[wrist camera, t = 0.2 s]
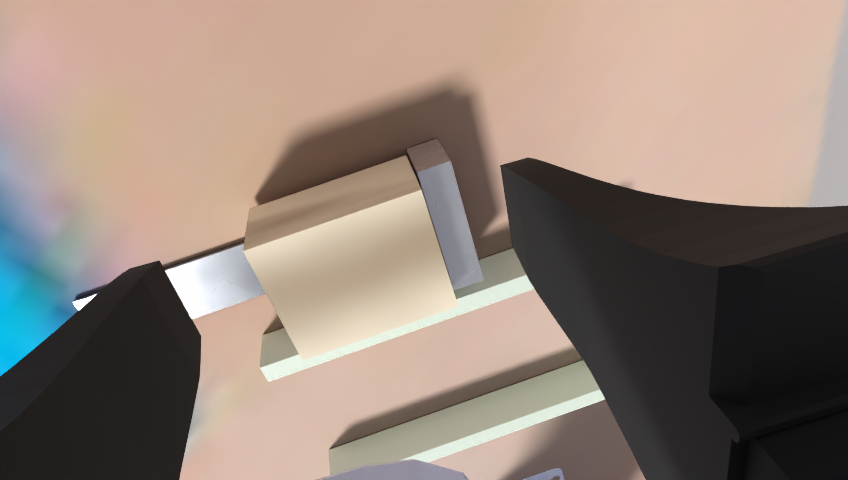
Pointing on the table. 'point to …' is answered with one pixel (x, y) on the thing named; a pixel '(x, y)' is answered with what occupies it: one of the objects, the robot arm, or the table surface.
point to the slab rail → (236, 282)
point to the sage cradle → (462, 420)
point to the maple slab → (349, 258)
